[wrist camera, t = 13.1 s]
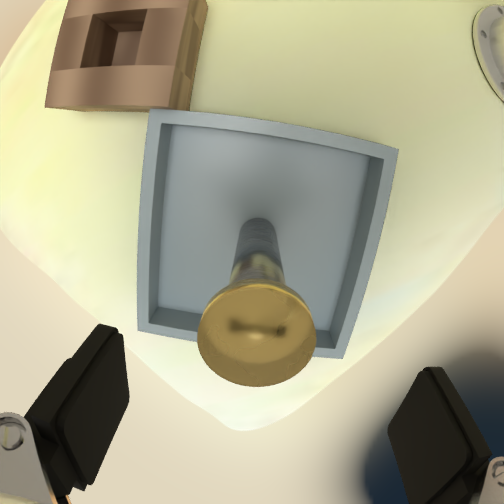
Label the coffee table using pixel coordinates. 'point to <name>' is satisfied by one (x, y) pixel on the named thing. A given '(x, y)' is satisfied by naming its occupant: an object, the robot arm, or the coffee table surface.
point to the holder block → (126, 55)
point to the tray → (257, 216)
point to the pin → (256, 316)
